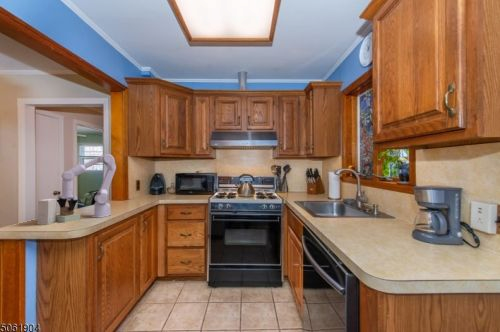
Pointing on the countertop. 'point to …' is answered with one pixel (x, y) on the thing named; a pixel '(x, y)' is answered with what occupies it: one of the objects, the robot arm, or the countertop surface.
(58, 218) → the sage block
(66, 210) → the walnut cube
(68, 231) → the countertop surface
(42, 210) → the skincare box
